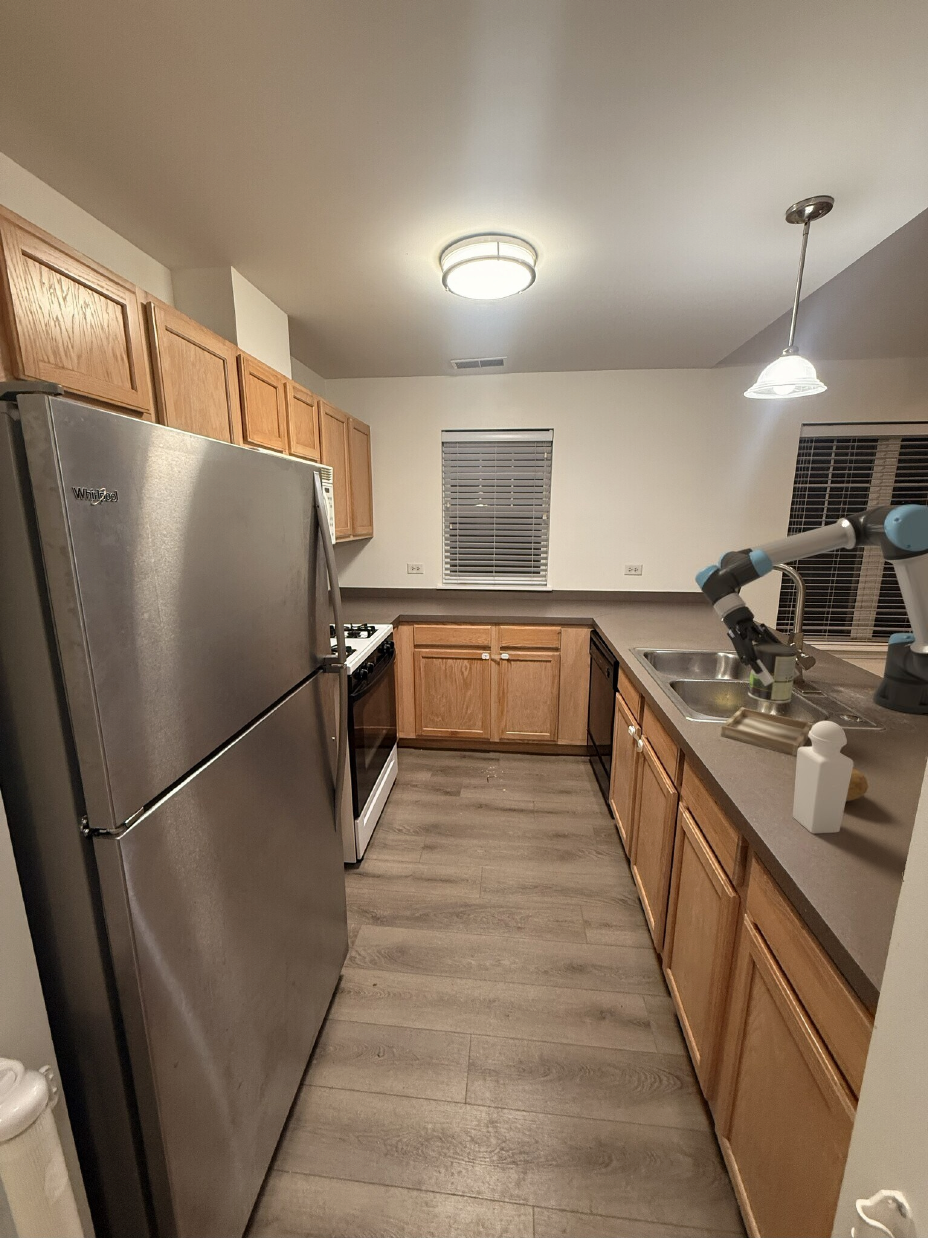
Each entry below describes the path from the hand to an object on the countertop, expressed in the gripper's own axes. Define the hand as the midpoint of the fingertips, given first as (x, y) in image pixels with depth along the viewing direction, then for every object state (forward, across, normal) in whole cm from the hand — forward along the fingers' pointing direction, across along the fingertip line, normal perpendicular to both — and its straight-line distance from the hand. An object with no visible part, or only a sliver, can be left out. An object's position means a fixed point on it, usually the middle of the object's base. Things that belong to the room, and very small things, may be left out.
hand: (782, 680), depth 133 cm
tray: (+10, 0, -14) cm, 17 cm away
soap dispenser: (+32, +30, +7) cm, 44 cm away
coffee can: (+2, 0, -6) cm, 7 cm away
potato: (+28, +16, +4) cm, 32 cm away
